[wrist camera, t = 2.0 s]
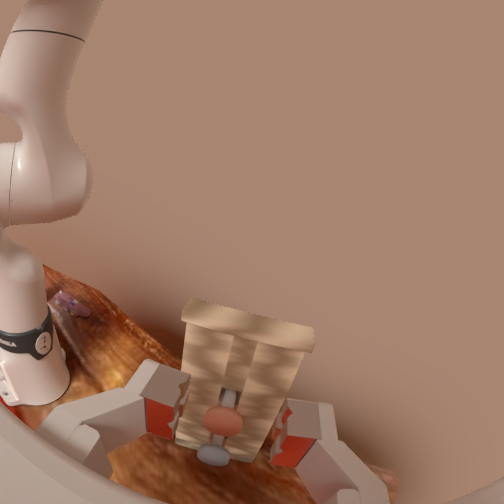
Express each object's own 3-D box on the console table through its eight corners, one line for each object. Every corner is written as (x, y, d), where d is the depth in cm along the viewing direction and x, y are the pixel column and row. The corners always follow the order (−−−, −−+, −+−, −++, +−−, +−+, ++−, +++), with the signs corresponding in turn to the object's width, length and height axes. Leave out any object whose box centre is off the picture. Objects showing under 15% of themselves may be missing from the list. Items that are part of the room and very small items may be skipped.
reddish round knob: (199, 431, 24) (203, 408, 23) (216, 380, 33) (222, 356, 32) (239, 441, 24) (247, 419, 23) (249, 388, 33) (256, 365, 31)
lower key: (193, 461, 26) (196, 446, 25) (209, 415, 35) (213, 397, 34) (227, 469, 26) (233, 455, 25) (237, 422, 35) (243, 405, 34)
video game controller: (59, 311, 55) (48, 294, 50) (68, 299, 58) (58, 281, 54) (84, 327, 54) (73, 310, 49) (93, 313, 57) (84, 295, 52)
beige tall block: (171, 444, 32) (182, 310, 25) (183, 416, 38) (201, 285, 31) (254, 466, 31) (315, 343, 24) (258, 436, 37) (310, 312, 30)
